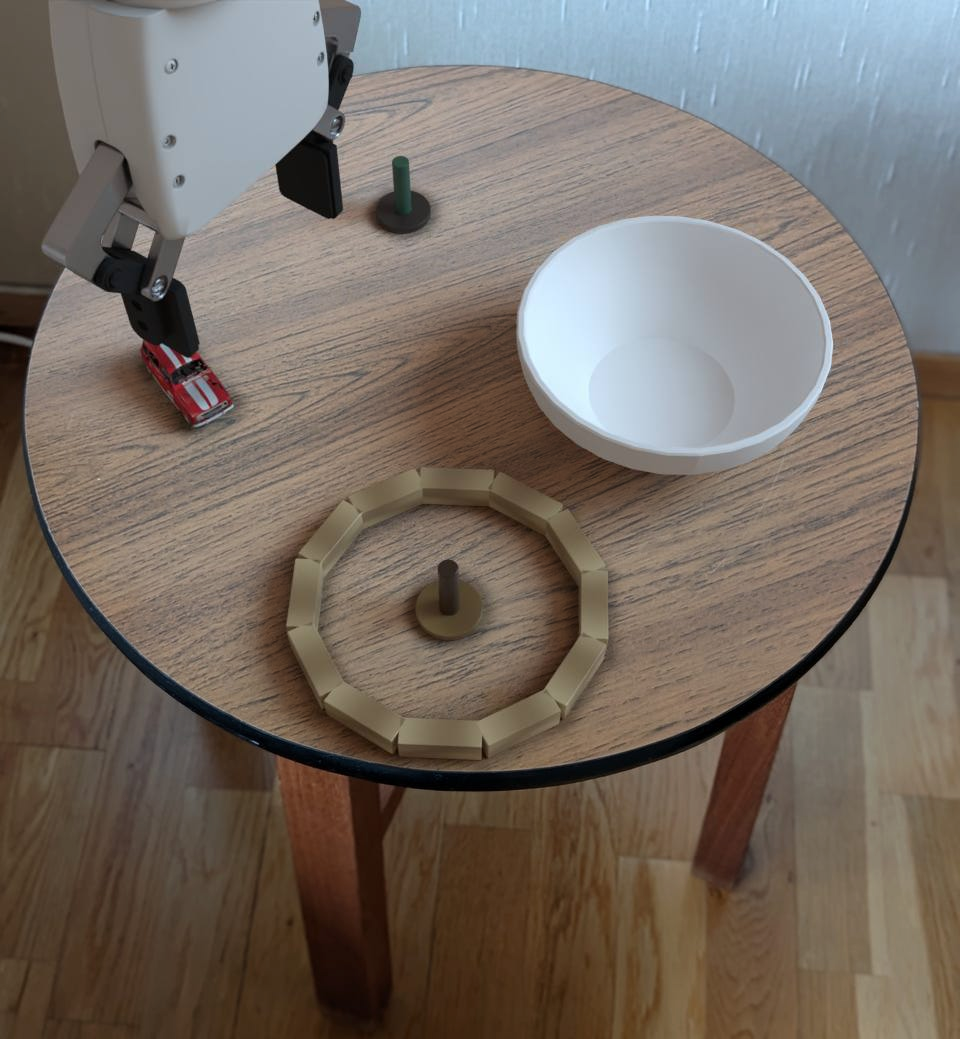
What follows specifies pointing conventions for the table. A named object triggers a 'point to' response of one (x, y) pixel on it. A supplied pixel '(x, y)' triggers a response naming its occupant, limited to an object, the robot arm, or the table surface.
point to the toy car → (187, 383)
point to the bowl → (673, 344)
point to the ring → (444, 733)
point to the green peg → (402, 203)
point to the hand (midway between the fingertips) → (242, 269)
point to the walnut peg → (449, 605)
